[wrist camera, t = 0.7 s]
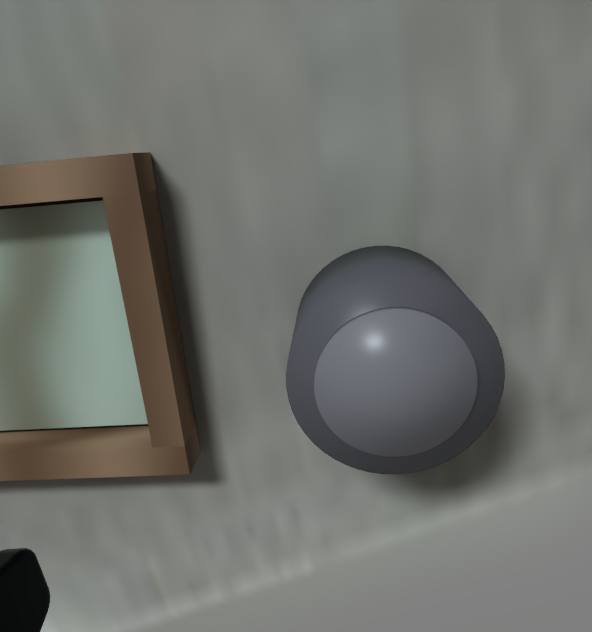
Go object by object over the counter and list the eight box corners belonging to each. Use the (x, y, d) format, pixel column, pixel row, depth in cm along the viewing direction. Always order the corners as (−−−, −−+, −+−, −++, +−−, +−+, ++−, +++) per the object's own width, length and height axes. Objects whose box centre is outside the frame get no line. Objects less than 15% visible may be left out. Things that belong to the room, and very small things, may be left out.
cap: (465, 238, 17) (513, 272, 13) (463, 398, 19) (503, 476, 15) (289, 252, 18) (274, 288, 13) (303, 405, 20) (294, 483, 15)
